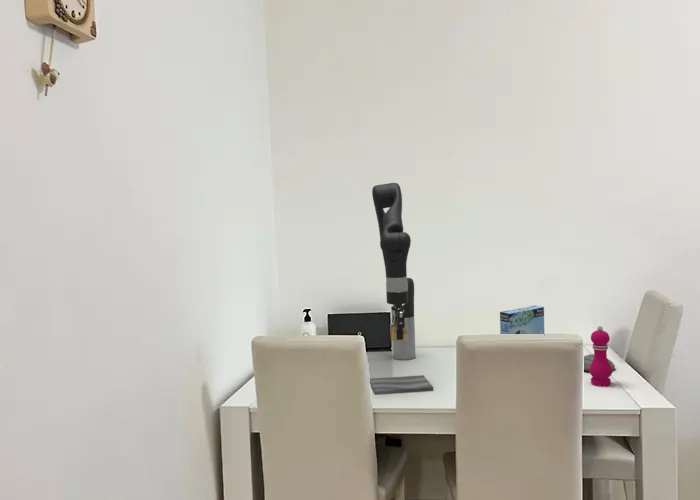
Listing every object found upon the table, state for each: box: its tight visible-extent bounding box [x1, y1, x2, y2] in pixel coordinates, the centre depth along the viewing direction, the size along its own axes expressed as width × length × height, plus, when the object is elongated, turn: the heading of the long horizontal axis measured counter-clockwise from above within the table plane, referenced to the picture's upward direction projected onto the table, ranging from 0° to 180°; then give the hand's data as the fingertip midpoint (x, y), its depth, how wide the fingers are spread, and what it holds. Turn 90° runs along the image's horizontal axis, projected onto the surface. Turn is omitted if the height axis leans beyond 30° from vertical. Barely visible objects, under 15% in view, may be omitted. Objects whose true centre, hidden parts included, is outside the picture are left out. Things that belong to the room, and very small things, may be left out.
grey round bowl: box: [583, 353, 616, 372], centre depth 244 cm, size 15×15×6 cm
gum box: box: [499, 305, 545, 335], centre depth 246 cm, size 19×5×23 cm, turn 123°
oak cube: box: [389, 323, 407, 342], centre depth 229 cm, size 5×5×5 cm
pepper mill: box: [588, 325, 613, 387], centre depth 223 cm, size 7×7×20 cm
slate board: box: [369, 374, 434, 395], centre depth 230 cm, size 16×20×1 cm
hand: (398, 337), depth 229 cm, fingers closed on oak cube, 5 cm apart
